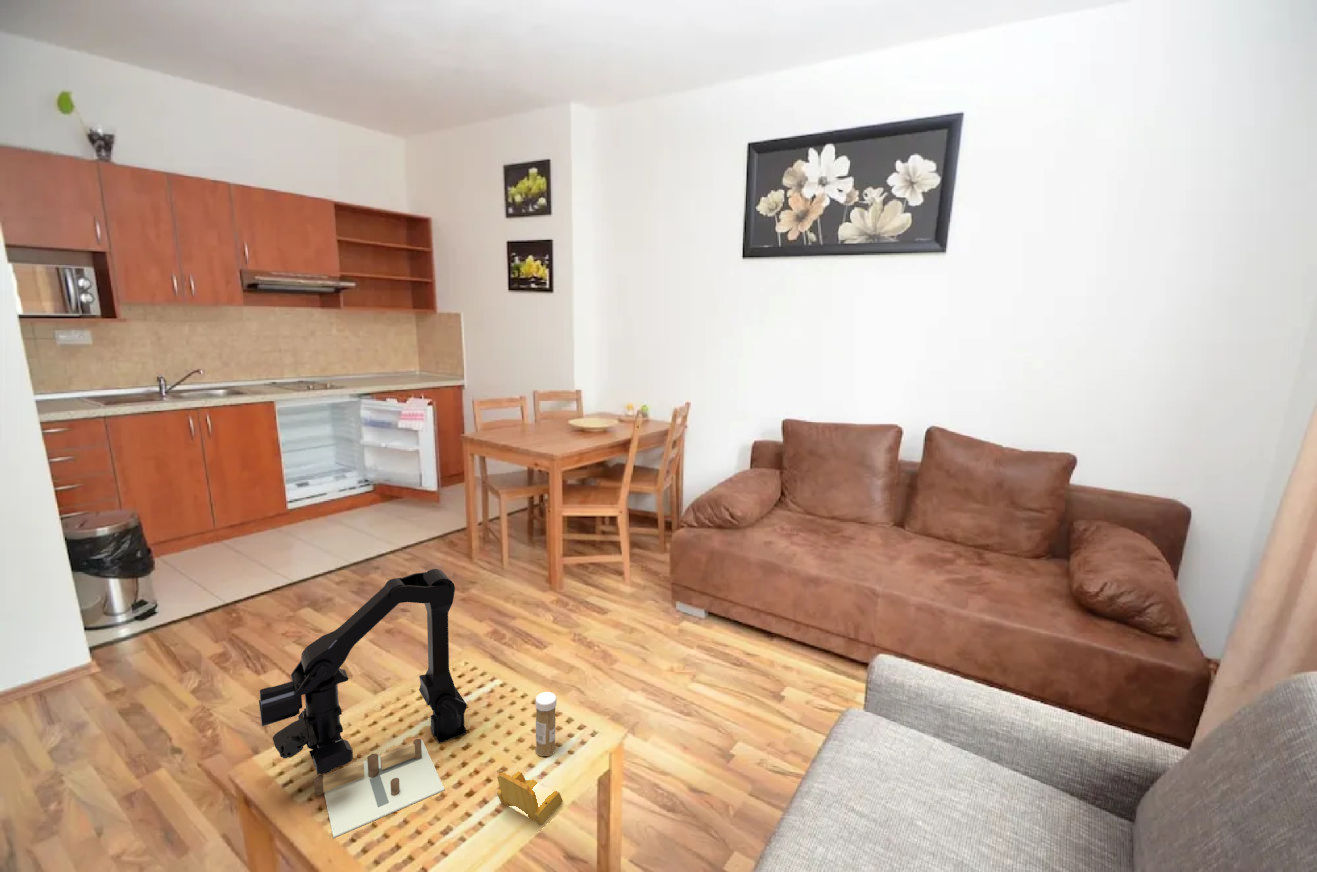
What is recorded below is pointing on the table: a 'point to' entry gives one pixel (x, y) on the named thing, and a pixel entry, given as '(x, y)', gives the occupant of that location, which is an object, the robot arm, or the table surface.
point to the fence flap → (338, 777)
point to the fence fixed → (394, 761)
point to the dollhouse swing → (526, 797)
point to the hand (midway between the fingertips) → (327, 772)
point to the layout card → (381, 793)
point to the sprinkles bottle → (545, 723)
